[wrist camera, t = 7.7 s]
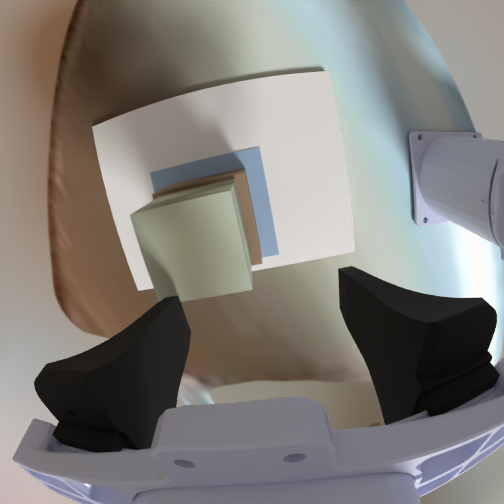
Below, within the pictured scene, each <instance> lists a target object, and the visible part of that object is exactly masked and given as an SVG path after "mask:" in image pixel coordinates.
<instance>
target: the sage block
mask: <svg viewBox="0 0 504 504" xmlns="http://www.w3.org/2000/svg"><path fill="white" fill-rule="evenodd" d="M130 218H131V221H132V225H133V228H134V231H135V234H136V238H137V241H138V244H139V247H140V250H141V253H142V256H143V259H144V262H145V265H146V268H147V271H148V273H149V276H150V279H151V282H152V284H153V287H154V290H155V293H156V295H157V298H158V300H159V301H161V300H162V299H164V298H165V297H171V296H179V299H180V302H182V301H189V300H195V299H201V298H207V297H213V296H219V295H225V294H231V293H237V292H242V291H248V290H252V263H251V250H250V246H249V241H248V236H247V232H246V227H245V222H244V218H243V213H242V208H241V203H240V199H239V194H238V189H237V185H236V180H235V179H231V180H226V181H222V182H217V183H213V184H208V185H204V186H200V187H195V188H191V189H187V190H183V191H179V192H175V193H171V194H167V195H163V196H159V197H158V198H156V199H155V200H153V201H151V202H150V203H148V204H146V205H145V206H143V207H142V208H140V209H138V210H137V211H135V212H134V213H132V214H131V215H130Z"/></svg>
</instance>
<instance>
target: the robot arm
mask: <svg viewBox="0 0 504 504" xmlns="http://www.w3.org/2000/svg"><path fill="white" fill-rule="evenodd" d="M418 135H420V140H419V139H418ZM473 136H474V138H473ZM409 144H410V153H411V163H412V174H413V189H414V220H415V224H416V225H417V226H420V227H421V226H426V225H431V224H436V223H441V222H446V221H451V222H453V223H455V224H457V225H459V226H461V227H463V228H465V229H467V230H469V231H471V232H473V233H475V234H477V235H479V236H481V237H482V238H484V239H486V240H488V241H490V242H492V243H493V244H495V245H497V246H499V247H500V248H501V259H502V260H504V141H500V140H491V139H484V137H483V135H482V133H476V132H452V131H412V132H410V133H409ZM424 218H425V221H424V222H423V219H424ZM338 274H339V298H340V310H341V313H342V315H343V318H344V321H345V324H346V326H347V328H348V330H349V332H350V333H351V335H352V337H353V339H354V341H355V343H356V345H357V347H358V349H359V350H360V352H361V354H362V356H363V358H364V360H365V362H366V365H367V367H368V369H369V372H370V375H371V378H372V381H373V384H374V386H375V390H376V393H377V396H378V399H379V403H380V406H381V410H382V414H383V418H384V422H385V425H383V426H375V427H366V428H356V429H343V430H331V428H330V424H329V420H328V416H327V413H326V411H325V409H324V408H323V405H322V404H321V403H319V402H316V401H313V400H310V399H308V398H305V397H278V398H271V399H263V400H256V401H246V402H236V403H224V404H209V405H186V406H181V407H176V403H177V396H178V390H179V386H180V382H181V378H182V374H183V371H184V367H185V363H186V359H187V355H188V351H189V345H190V335H191V331H190V328H189V325H188V322H187V319H186V317H185V314H184V311H183V308H182V305H181V302H180V299H179V296H171V297H165V298H164V299H162V300H161V301H159V302H158V303H157V304H156V305H154V306H153V307H152V308H151V309H149V310H148V311H147V312H146V313H145V314H143V315H142V316H141V317H140V318H138V319H137V320H136V321H135V322H133V323H132V324H131V325H129V326H128V327H127V328H125V329H124V330H123V331H121V332H120V333H118V334H117V335H115V336H113V337H112V338H110V339H109V340H107V341H105V342H103V343H101V344H100V345H97V346H96V347H93V348H92V349H90V350H87V351H85V352H83V353H80V354H78V355H75V356H72V357H69V358H67V359H63V360H59V361H56V362H52V363H48V364H46V365H45V367H44V368H43V369H42V371H41V372H40V374H39V375H38V376H37V378H36V379H35V382H34V386H35V390H36V392H37V394H38V396H39V398H40V399H41V401H42V402H43V403H44V404H45V406H46V407H47V408H48V409H49V410H50V412H51V413H52V414H53V415H54V416H55V417H56V419H57V420H58V421H59V423H58V425H57V426H54V425H53V424H51V423H48V422H45V421H41V420H38V419H33V421H32V422H31V424H30V426H29V428H28V430H27V431H26V433H25V435H24V437H23V439H22V441H21V443H20V445H19V447H18V449H17V451H16V453H15V454H14V456H13V460H14V461H15V462H16V463H17V464H18V465H19V466H20V467H22V468H23V469H24V470H25V471H27V472H28V473H29V474H30V475H31V476H33V477H34V478H35V479H37V480H38V481H39V482H41V483H42V484H43V485H45V486H46V487H47V488H49V489H50V490H52V491H54V492H56V493H58V494H61V495H63V496H65V497H68V498H70V499H72V500H74V501H77V502H79V503H82V504H421V502H420V499H419V497H421V496H422V495H425V494H427V493H429V492H431V491H433V490H435V489H436V488H438V487H440V486H442V485H443V484H445V483H447V482H449V481H450V480H452V479H454V478H455V477H457V476H458V475H460V474H462V473H463V472H465V471H467V470H468V469H470V468H471V467H473V466H474V465H475V464H477V463H479V462H480V461H481V460H483V459H484V458H486V457H487V456H488V455H490V454H491V453H493V452H494V451H495V450H497V449H498V448H499V447H501V446H502V445H503V444H504V359H502V360H500V361H499V362H498V363H497V364H496V365H495V367H494V366H493V365H492V364H491V363H490V361H491V360H492V355H491V354H490V353H489V352H488V348H489V346H490V343H491V340H492V337H493V335H494V332H495V328H496V324H497V314H496V311H495V309H494V308H493V307H492V306H490V305H489V304H488V303H487V302H486V301H485V300H484V299H483V298H451V297H440V296H434V295H428V294H423V293H419V292H415V291H411V290H408V289H404V288H401V287H398V286H396V285H393V284H391V283H388V282H386V281H383V280H381V279H379V278H377V277H374V276H372V275H370V274H368V273H366V272H364V271H362V270H360V269H357V268H355V267H352V266H350V267H345V268H340V269H338Z"/></svg>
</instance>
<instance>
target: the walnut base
mask: <svg viewBox="0 0 504 504" xmlns="http://www.w3.org/2000/svg"><path fill="white" fill-rule="evenodd" d="M231 179H235V180H236V185H237V189H238V194H239V199H240V203H241V208H242V213H243V218H244V222H245V227H246V232H247V236H248V241H249V246H250V250H251V263H252V265H258V264H263V263H262V255H261V247H260V240H259V235H258V230H257V225H256V220H255V215H254V210H253V205H252V200H251V195H250V190H249V185H248V180H247V175H246V170H245V168H243V169H238V170H233V171H228V172H223V173H218V174H214V175H209V176H205V177H201V178H196V179H192V180H188V181H184V182H180V183H176V184H172V185H169V186H167V187H165V188H163V189H161V190H159V191H157V192H156V193H154V194H152V197H153V200H155V199H156V198H158V197H159V196H163V195H167V194H171V193H175V192H179V191H183V190H187V189H191V188H195V187H200V186H204V185H208V184H213V183H217V182H222V181H226V180H231Z"/></svg>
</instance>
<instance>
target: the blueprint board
mask: <svg viewBox="0 0 504 504" xmlns="http://www.w3.org/2000/svg"><path fill="white" fill-rule="evenodd" d="M92 129H93V134H94V140H95V145H96V150H97V154H98V159H99V164H100V168H101V172H102V177H103V181H104V185H105V189H106V192H107V196H108V200H109V204H110V207H111V211H112V214H113V218H114V221H115V224H116V228H117V231H118V234H119V237H120V240H121V243H122V246H123V249H124V252H125V255H126V258H127V261H128V264H129V267H130V270H131V272H132V275H133V278H134V280H135V283H136V286H137V288H138V291H140V290H146V289H152V288H154V287H153V284H152V282H151V279H150V276H149V273H148V271H147V268H146V265H145V262H144V259H143V256H142V253H141V250H140V247H139V244H138V241H137V238H136V234H135V231H134V228H133V225H132V221H131V218H130V215H131V214H132V213H134V212H135V211H137V210H138V209H140V208H142V207H143V206H145V205H146V204H148V203H150V202H151V201H153V197H152V194H154V193H156V192H157V191H159V190H161V189H163V188H165V187H167V186H169V185H172V184H176V183H180V182H184V181H188V180H192V179H196V178H201V177H205V176H209V175H214V174H218V173H223V172H228V171H233V170H238V169H243V168H245V170H246V175H247V180H248V185H249V190H250V195H251V200H252V205H253V210H254V215H255V220H256V225H257V230H258V235H259V240H260V247H261V255H262V263H263V264H258V265H252V271H256V270H262V269H267V268H272V267H278V266H283V265H288V264H294V263H299V262H304V261H309V260H315V259H320V258H325V257H330V256H335V255H340V254H345V253H350V252H355V249H354V233H353V220H352V209H351V199H350V190H349V181H348V173H347V166H346V159H345V152H344V145H343V139H342V133H341V127H340V122H339V117H338V111H337V106H336V101H335V97H334V92H333V87H332V83H331V78H330V74H329V71H321V72H307V73H296V74H286V75H278V76H270V77H263V78H257V79H251V80H245V81H239V82H234V83H229V84H224V85H220V86H215V87H211V88H206V89H202V90H198V91H194V92H191V93H187V94H183V95H180V96H176V97H173V98H169V99H166V100H163V101H160V102H156V103H153V104H150V105H147V106H144V107H141V108H139V109H136V110H133V111H130V112H128V113H125V114H122V115H120V116H117V117H115V118H112V119H110V120H107V121H105V122H103V123H100V124H98V125H96V126H93V127H92Z"/></svg>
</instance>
